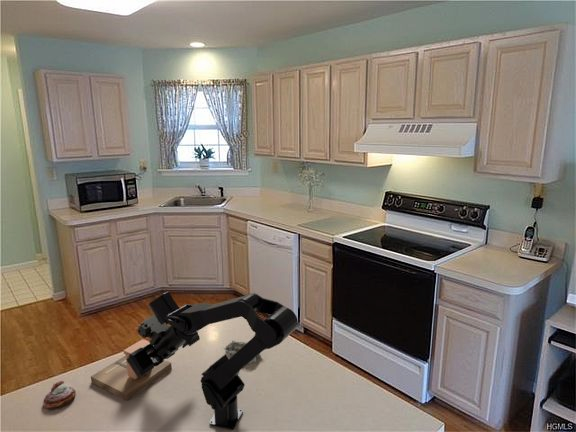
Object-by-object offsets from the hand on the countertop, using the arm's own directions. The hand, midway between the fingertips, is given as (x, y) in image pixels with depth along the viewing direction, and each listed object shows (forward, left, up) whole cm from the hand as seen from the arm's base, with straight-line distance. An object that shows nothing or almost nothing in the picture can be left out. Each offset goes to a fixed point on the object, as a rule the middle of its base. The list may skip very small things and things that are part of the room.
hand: (148, 361), depth 111 cm
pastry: (-12, +20, -8) cm, 24 cm away
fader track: (+2, +7, -7) cm, 11 cm away
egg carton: (+19, -20, -8) cm, 29 cm away
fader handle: (+1, +4, -5) cm, 7 cm away
